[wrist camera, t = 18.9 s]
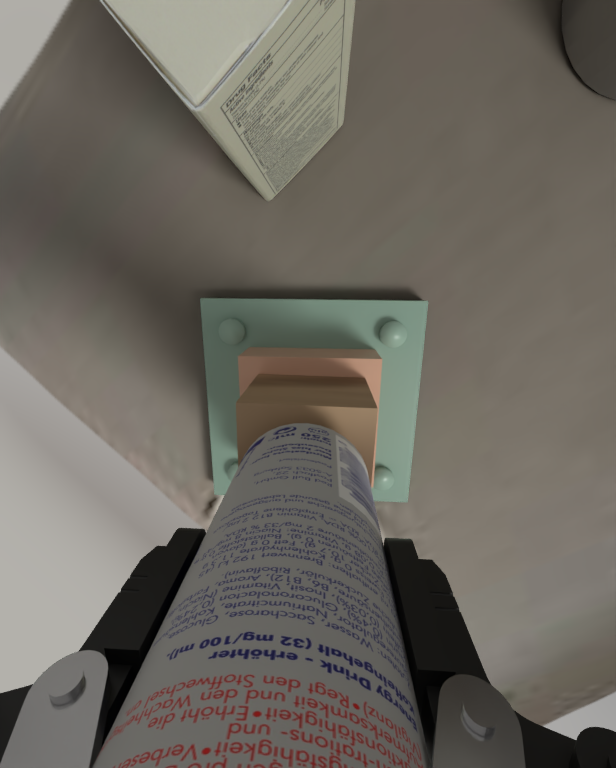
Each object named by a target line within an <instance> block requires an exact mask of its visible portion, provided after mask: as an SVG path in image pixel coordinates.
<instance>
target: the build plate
mask: <svg viewBox="0 0 616 768" xmlns="http://www.w3.org/2000/svg"><path fill="white" fill-rule="evenodd" d="M200 305H201V319H202V332H203V346H204V359H205V372H206V386H207V399H208V413H209V426H210V439H211V453H212V466H213V480H214V493H215V495H225V494H226V492H227V490H228V488H229V486H230V483H231V481H232V479H233V477H234V475H235V473H236V471H237V469H238V450H237V422H236V402H237V401H238V399H239V398H240V397H241V395H242V394H243V393H244V392H245V390H246V389H247V388H248V386H249V385H250V384H251V383H252V381H253V380H254V379H255V377H256V376H257V375H258V374H278V375H305V376H332V377H359V378H365V379H366V381H367V384H368V386H369V388H370V391H371V393H372V396H373V398H374V400H375V403H376V405H377V408H378V412H377V424H376V436H375V447H374V459H373V471H372V482H371V491H372V495H373V500H374V501H387V502H408V494H409V484H410V474H411V465H412V455H413V445H414V435H415V426H416V416H417V406H418V397H419V387H420V377H421V367H422V358H423V348H424V338H425V329H426V319H427V309H428V301H424V300H358V299H274V298H200Z"/></svg>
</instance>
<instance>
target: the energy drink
mask: <svg viewBox="0 0 616 768" xmlns="http://www.w3.org/2000/svg"><path fill="white" fill-rule="evenodd" d="M92 768H431V766H430V762H429V757H428V752H427V748H426V743H425V738H424V734H423V729H422V724H421V720H420V715H419V710H418V706H417V701H416V696H415V692H414V687H413V682H412V678H411V673H410V668H409V664H408V659H407V654H406V650H405V645H404V640H403V636H402V631H401V626H400V621H399V617H398V612H397V607H396V603H395V598H394V593H393V589H392V584H391V579H390V575H389V570H388V565H387V561H386V556H385V551H384V547H383V542H382V537H381V533H380V528H379V523H378V519H377V514H376V509H375V505H374V500H373V495H372V491H371V486H370V481H369V476H368V472H367V467H366V465H365V462H364V460H363V458H362V456H361V454H360V453H359V452H358V450H357V449H356V448H355V446H354V445H353V444H352V443H351V442H350V441H348V440H347V439H346V438H345V437H344V436H342V435H340V434H339V433H337V432H335V431H334V430H331V429H329V428H326V427H323V426H321V425H315V424H309V423H293V424H288V425H283V426H280V427H277V428H275V429H272V430H270V431H268V432H266V433H265V434H263V435H262V436H260V437H259V438H258V439H257V440H256V441H255V442H254V443H253V444H252V445H251V446H250V447H249V449H248V450H247V452H246V454H245V455H244V457H243V459H242V461H241V463H240V465H239V467H238V469H237V471H236V473H235V475H234V477H233V479H232V481H231V483H230V486H229V488H228V490H227V492H226V494H225V496H224V498H223V500H222V502H221V504H220V506H219V508H218V510H217V512H216V514H215V516H214V518H213V520H212V522H211V525H210V527H209V529H208V531H207V533H206V535H205V537H204V539H203V541H202V543H201V545H200V547H199V549H198V551H197V553H196V555H195V557H194V559H193V561H192V564H191V566H190V568H189V570H188V572H187V574H186V576H185V578H184V580H183V582H182V584H181V586H180V588H179V590H178V592H177V594H176V596H175V598H174V600H173V603H172V605H171V607H170V609H169V611H168V613H167V615H166V617H165V619H164V621H163V623H162V625H161V627H160V629H159V631H158V633H157V635H156V637H155V639H154V642H153V644H152V646H151V648H150V650H149V652H148V654H147V656H146V658H145V660H144V662H143V664H142V666H141V668H140V670H139V672H138V674H137V676H136V678H135V681H134V683H133V685H132V687H131V689H130V691H129V693H128V695H127V697H126V699H125V701H124V703H123V705H122V707H121V709H120V711H119V713H118V715H117V717H116V720H115V722H114V724H113V726H112V728H111V730H110V732H109V734H108V736H107V738H106V740H105V742H104V744H103V746H102V748H101V750H100V752H99V754H98V756H97V759H96V761H95V763H94V765H93V767H92Z"/></svg>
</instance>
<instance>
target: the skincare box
mask: <svg viewBox="0 0 616 768" xmlns="http://www.w3.org/2000/svg"><path fill="white" fill-rule="evenodd" d="M99 1H100V2H101V3H102V4H103V6H104V7H105V8H106V9H107V11H108V12H109V13H110V14H111V16H112V17H113V18H114V19H115V21H116V22H117V23H118V24H119V26H120V27H121V28H122V29H123V31H124V32H125V33H126V34H127V35H128V37H129V38H130V39H131V40H132V42H133V43H134V44H135V45H136V46H137V48H138V49H139V50H140V51H141V52H142V54H143V55H144V56H145V57H146V59H147V60H148V61H149V62H150V63H151V65H152V66H153V67H154V68H155V69H156V71H157V72H158V73H159V74H160V75H161V77H162V78H163V79H164V80H165V81H166V83H167V84H168V85H169V86H170V87H171V89H172V90H173V91H174V92H175V93H176V95H177V96H178V97H179V98H180V99H181V101H182V102H183V103H184V104H185V105H186V106H187V108H188V109H189V110H190V111H191V112H192V114H193V115H194V116H195V117H196V118H197V120H198V121H199V122H200V123H201V124H202V126H203V127H204V128H205V129H206V130H207V132H208V133H209V134H210V135H211V136H212V138H213V139H214V140H215V141H216V143H217V144H218V145H219V146H220V147H221V149H222V150H223V151H224V152H225V153H226V155H227V156H228V157H229V158H230V159H231V161H232V162H233V163H234V164H235V165H236V167H237V168H238V169H239V170H240V171H241V173H242V174H243V175H244V176H245V177H246V178H247V180H248V181H249V182H250V183H251V184H252V185H253V187H254V188H255V189H256V190H257V191H258V192H259V194H260V195H261V196H262V197H263V198H264V199H265V200H266V201H270V200H272V199H273V198H274V197H275V196H276V195H277V194H278V193H279V192H280V191H281V190H282V189H283V188H284V187H285V186H286V185H287V184H288V183H289V182H290V181H291V179H292V178H293V177H294V176H295V175H296V174H297V173H298V172H299V171H300V170H301V169H302V168H303V167H304V166H305V165H306V164H307V163H308V162H309V161H310V160H311V159H312V157H313V156H314V155H315V154H316V153H317V152H318V151H319V150H320V149H321V148H322V147H323V146H324V145H325V144H326V143H327V141H328V140H329V139H330V138H331V137H332V136H333V135H334V134H335V132H336V131H337V130H338V129H339V128H340V127H341V126H342V124H343V122H344V112H345V101H346V91H347V82H348V72H349V61H350V50H351V41H352V30H353V21H354V11H355V1H356V0H99Z"/></svg>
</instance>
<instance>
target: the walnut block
mask: <svg viewBox="0 0 616 768" xmlns="http://www.w3.org/2000/svg"><path fill="white" fill-rule="evenodd" d="M377 412H378V408H377V405H376V403H375V400H374V398H373V396H372V393H371V391H370V388H369V386H368V384H367V381H366V379H365V378H359V377H332V376H305V375H278V374H258V375H257V376H256V377H255V379H254V380H253V381H252V383H251V384H250V385H249V386H248V388H247V389H246V390H245V392H244V393H243V394H242V395H241V397H240V398H239V399H238V401H237V402H236V422H237V450H238V467H239V465H240V463H241V461H242V459H243V457H244V455H245V454H246V452H247V450H248V449H249V447H250V446H251V445H252V444H253V443H254V442H255V441H256V440H257V439H258V438H259V437H260V436H262V435H263V434H265V433H266V432H268V431H270V430H272V429H275V428H277V427H280V426H283V425H288V424H293V423H309V424H315V425H321V426H323V427H326V428H329V429H331V430H334V431H335V432H337V433H339V434H340V435H342V436H344V437H345V438H346V439H347V440H348V441H350V442H351V443H352V444H353V445H354V446H355V448H356V449H357V450H358V452H359V453H360V454H361V456H362V458H363V460H364V462H365V465H366V467H367V472H368V476H369V481H370V486H371V482H372V471H373V459H374V447H375V436H376V424H377Z"/></svg>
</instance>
